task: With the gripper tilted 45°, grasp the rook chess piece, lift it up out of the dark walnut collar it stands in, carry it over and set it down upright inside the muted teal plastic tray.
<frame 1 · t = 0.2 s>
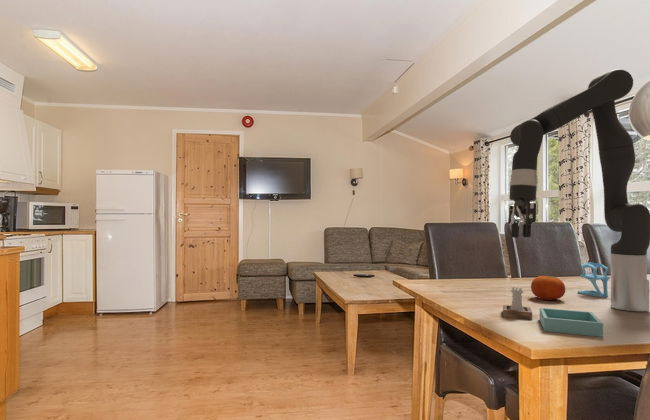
hand: (520, 237, 127), 23 cm above the table, tool pointing down, fingers open, 8 cm apart
fruit: (547, 299, 144), on the table
tray: (568, 327, 108), on the table
rook chess piece: (516, 316, 121), resting in socket collar
socket collar: (516, 315, 121), on the table
chair: (594, 295, 152), on the table
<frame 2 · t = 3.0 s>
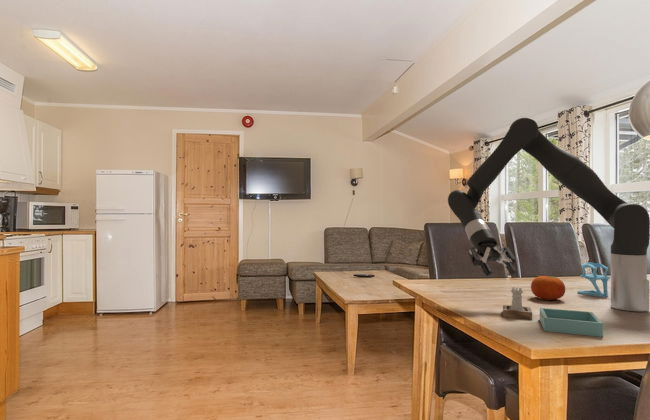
hand: (502, 274, 128), 11 cm above the table, tool tilted 45°, fingers open, 8 cm apart
nothing on the table moved.
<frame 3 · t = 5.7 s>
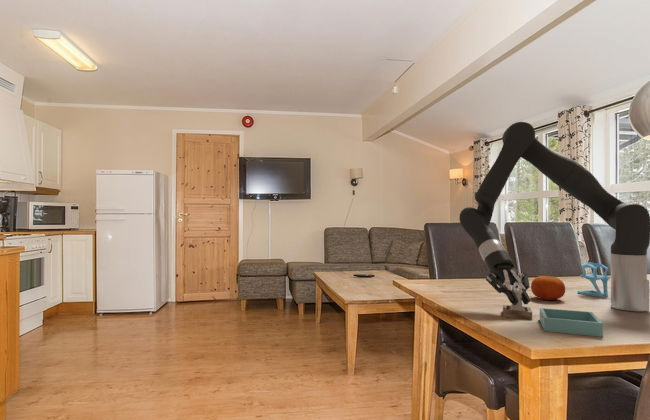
hand: (521, 302, 119), 4 cm above the table, tool tilted 45°, fingers closed on rook chess piece, 3 cm apart
rook chess piece: (516, 315, 121), resting in socket collar, touching gripper
everything else where it was.
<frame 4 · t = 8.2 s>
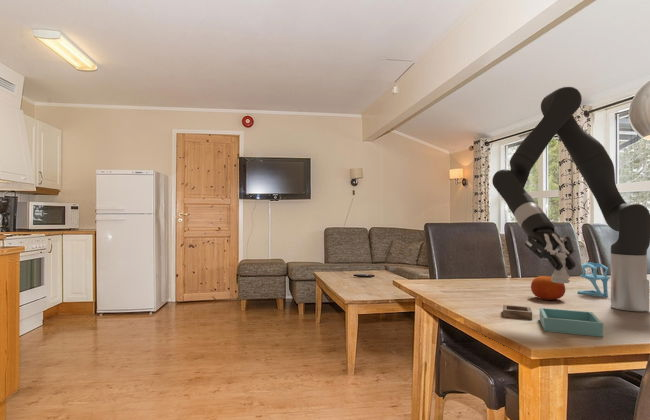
hand: (566, 268, 108), 16 cm above the table, tool tilted 45°, fingers closed on rook chess piece, 3 cm apart
rook chess piece: (560, 282, 110), point 11 cm above the table, touching gripper
everything else where it was.
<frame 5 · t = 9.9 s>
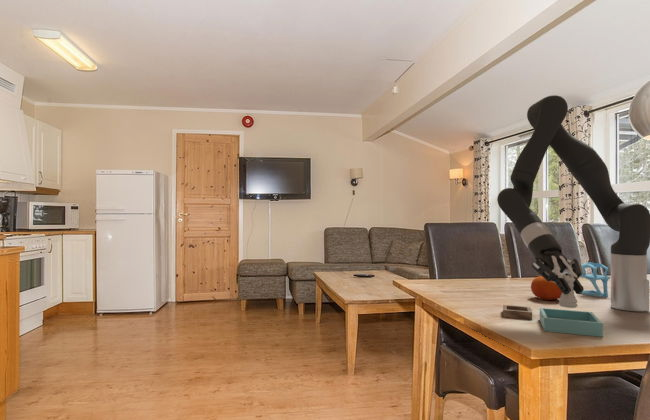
hand: (574, 292, 106), 10 cm above the table, tool tilted 45°, fingers closed on rook chess piece, 3 cm apart
rook chess piece: (567, 306, 108), point 5 cm above the table, touching gripper
everything else where it was.
when the fingers open (6 cm above the table, at t = 11.0 s): rook chess piece drops 1 cm, resting on tray.
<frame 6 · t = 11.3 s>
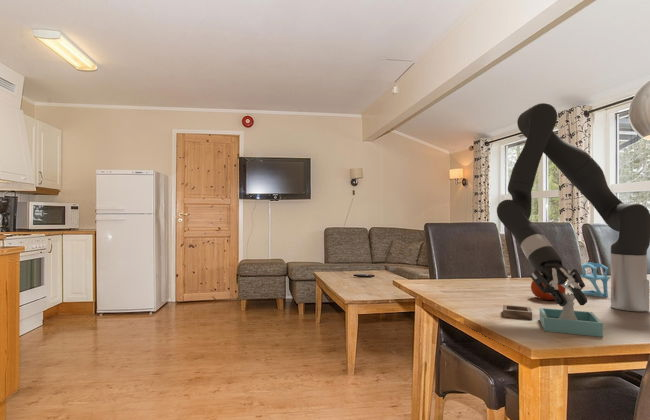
hand: (574, 303, 106), 7 cm above the table, tool tilted 45°, fingers open, 5 cm apart
rook chess piece: (568, 325, 108), point 1 cm above the table, touching tray
everything else where it was.
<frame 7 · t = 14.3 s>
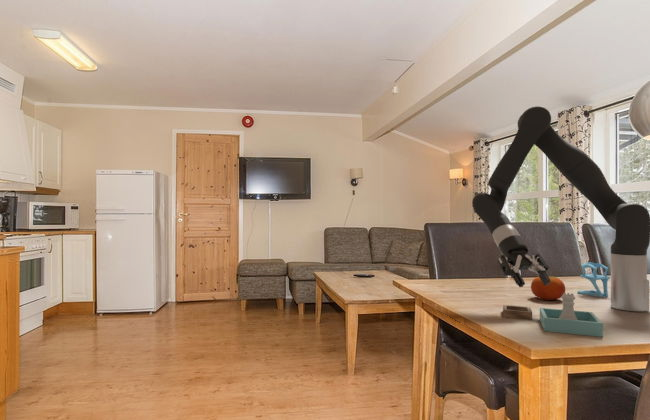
hand: (535, 284, 120), 9 cm above the table, tool tilted 45°, fingers open, 8 cm apart
nothing on the table moved.
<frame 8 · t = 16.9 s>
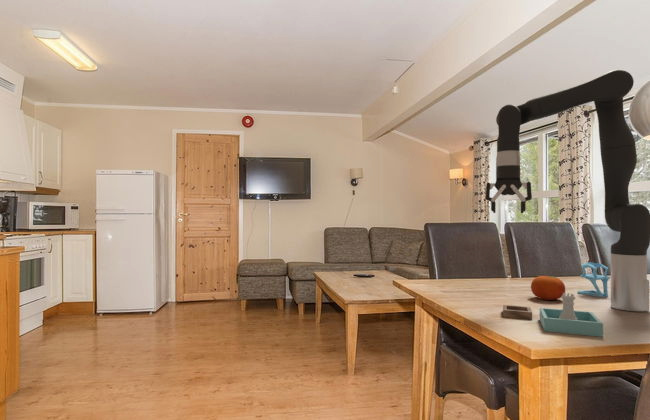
hand: (508, 213, 140), 30 cm above the table, tool pointing down, fingers open, 8 cm apart
nothing on the table moved.
at the end: rook chess piece inside the target area on the tray (0.1 cm from its centre), point 0.6 cm above the tray's base; rook chess piece tilted 0°; the gripper is holding nothing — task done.
